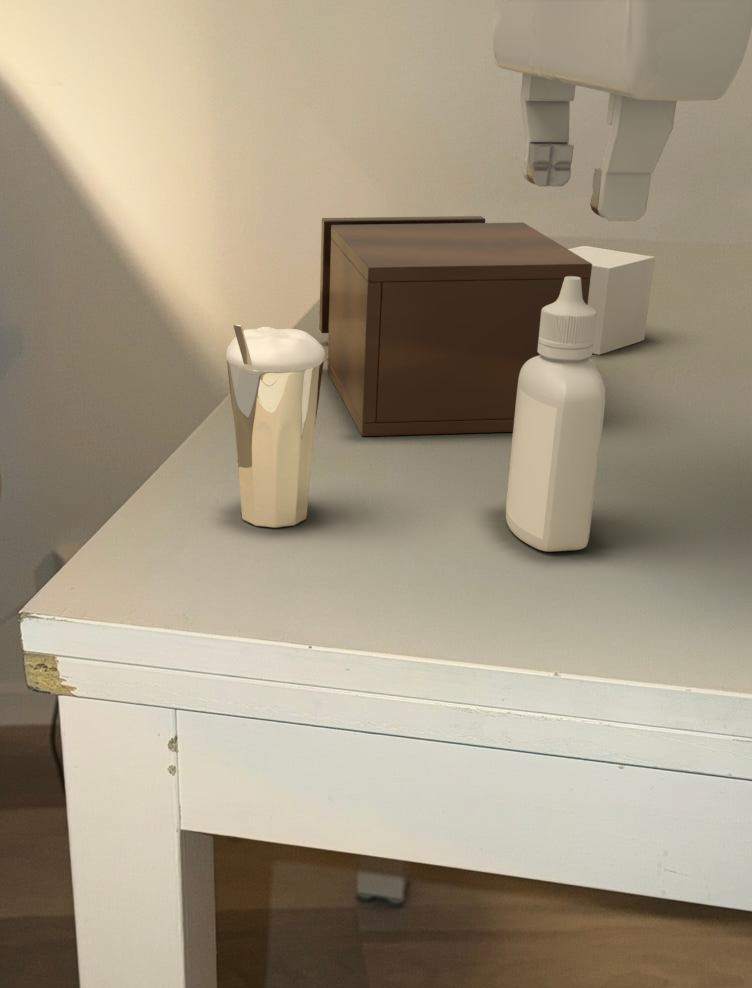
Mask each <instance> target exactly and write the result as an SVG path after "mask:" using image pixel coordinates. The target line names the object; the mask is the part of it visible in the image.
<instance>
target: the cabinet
mask: <svg viewBox="0 0 752 988" xmlns="http://www.w3.org/2000/svg"><path fill="white" fill-rule="evenodd" d="M568 249H569V248H566V247H565V246H563V245H562V244H560V243H558V242H556V240H554V239H552V238H551V237H548V236H547V235H545V234H543V233H541V232H540V231H538V230H537V229H535V228H533V227H532V226H530V225H528V224H527V223H525V222H485V223H448V224H369V225H331V260H330V299H329V333H328V341H327V343H328V344H327V361H328V362H327V374H328V376H329V378H330V380H331V381H332V383H333V385H334V387H335V389H336V391H337V393H338V395H339V397H340V398H341V400H342V402H343V404H344V405H345V407H346V409H347V411H348V413H349V414H350V416H351V418H352V420H353V422H354V424H355V426H356V427H357V429H358V431H359V433H360V435H361V436H362V437H382V436H383V437H384V436H386V437H387V436H389V437H390V436H416V435H417V436H418V435H422V436H423V435H450V434H451V435H454V434H455V435H457V434H486V433H487V434H489V433H491V434H492V433H513V427H514V416H515V406H516V396H517V387H518V379H519V374H520V371H521V368H522V366H523V365H524V364H525V363H526V362H527V361H528V360H529V359H531V358H533V357H536V356H539V355H540V354H539V353H538V352H537V350H538V340H539V330H540V319H541V310H542V308H543V307H545V306H547V305H549V304H552V303H554V302H555V301H556V300H557V299H558V298H559V295H560V292H561V288H562V285H563V282H564V278H565V277H567V276H575V277H580V278H581V287H582V298H583V301H584V302H585V304H586V305H588V297H589V288H590V278H591V271H592V264H591V263H590V262H588V261H586V260H585V259H583V258H582V257H580V256H578V255H577V254H575V253H573V252H572V251H570V250H568Z"/></svg>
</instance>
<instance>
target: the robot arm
mask: <svg viewBox="0 0 752 988" xmlns="http://www.w3.org/2000/svg"><path fill="white" fill-rule="evenodd" d="M493 11H494V12H493V20H492V33H491V40H492V41H491V42H492V54H493V60H494V63H495V65H496V66H497V68H500V69H504V70H507V71H512V72H516V73H520V74H522V79H521V88H520V107H521V115H522V122H523V124H522V125H523V131H524V139H525V141H526V142H525V152H524V163H523V178H524V179H525V180H526V181H527V182H528V183H530V184H532V185H536V186H538V187H545V188H546V187H564V186H565V185H566V184H568V182H569V181H570V179H571V174H572V168H571V167H572V162H573V155H574V150H575V149H574V148H575V145H574V144H571V143H570V111H571V110H570V109H571V108H570V107H571V106H570V103H571V102H574V100H575V96H576V95H575V94H576V87H577V86H578V87H582V88H587V89H591V90H596V91H599V92H603V93H608V94H609V95H608V103H607V105H608V106H607V115H606V124H607V125H608V126H611V127H610V131H609V134H608V139H607V141H606V142H607V143H606V147H605V151H604V154H603V160H602V162H601V163H602V164H601V168H594V170H593V176H592V177H593V178H592V193H591V197H590V202H589V203H590V204H589V205H590V208H591V211H592V212H593V213H594V214H595V215H597V216H598V217H601V218H603V219H605V220H606V221H609V222H635V221H638V220H640V219H641V218H642V217H644V215H645V213H646V212H647V207H648V200H649V193H650V186H651V178H652V174H653V173H654V171H655V169H656V167H657V165H658V162H659V160H660V159H661V155H662V153H663V152H664V149H665V147H666V144H667V143H668V141H669V138H670V135H671V133H672V131H673V129H674V121H675V116H676V108H677V102H695V101H697V102H699V101H704V102H705V101H718V100H721V98H723V97H724V96H725V95H726V93H727V91H728V90H729V88H730V86H731V85H732V83H733V81H734V79H735V77H736V75H737V73H738V72H739V69H740V68H741V65H742V63H743V61H744V58H745V55H746V52H747V49H748V45H749V41H750V37H751V33H752V32H751V31H752V0H495V4H494V10H493Z"/></svg>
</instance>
